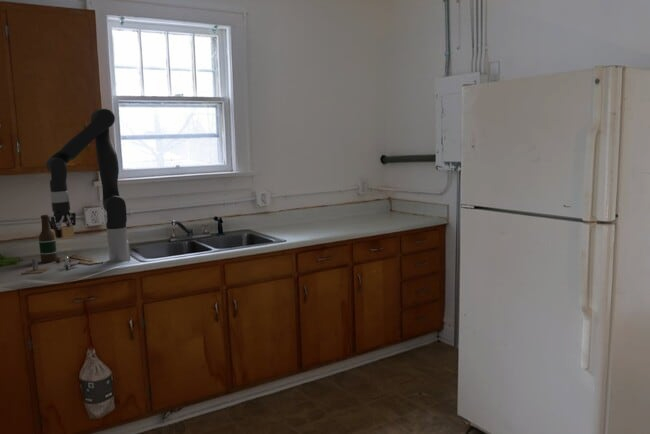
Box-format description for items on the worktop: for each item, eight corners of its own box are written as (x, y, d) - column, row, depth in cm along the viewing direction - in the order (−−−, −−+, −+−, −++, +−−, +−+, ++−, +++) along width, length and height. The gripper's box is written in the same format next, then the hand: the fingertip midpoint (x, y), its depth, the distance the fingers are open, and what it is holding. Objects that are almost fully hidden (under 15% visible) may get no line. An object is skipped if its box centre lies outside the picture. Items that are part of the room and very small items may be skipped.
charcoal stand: (68, 268, 257) (66, 255, 256) (79, 269, 254) (77, 255, 253) (56, 271, 250) (54, 258, 249) (67, 272, 248) (66, 259, 247)
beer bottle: (38, 261, 275) (33, 215, 272) (54, 258, 280) (50, 213, 277) (43, 263, 269) (38, 216, 266) (60, 260, 275) (55, 214, 271)
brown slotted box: (64, 236, 254) (63, 225, 253) (74, 236, 252) (73, 226, 251) (54, 238, 248) (53, 227, 248) (64, 239, 246) (62, 228, 246)
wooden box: (29, 271, 253) (27, 257, 252) (49, 270, 254) (48, 256, 253) (21, 276, 244) (20, 261, 243) (42, 274, 245) (41, 260, 244)
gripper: (53, 203, 240) (58, 239, 242) (78, 199, 253) (82, 234, 255) (41, 203, 242) (45, 239, 245) (66, 199, 255) (70, 233, 258)
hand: (64, 236), depth 250 cm, fingers closed on brown slotted box, 6 cm apart
